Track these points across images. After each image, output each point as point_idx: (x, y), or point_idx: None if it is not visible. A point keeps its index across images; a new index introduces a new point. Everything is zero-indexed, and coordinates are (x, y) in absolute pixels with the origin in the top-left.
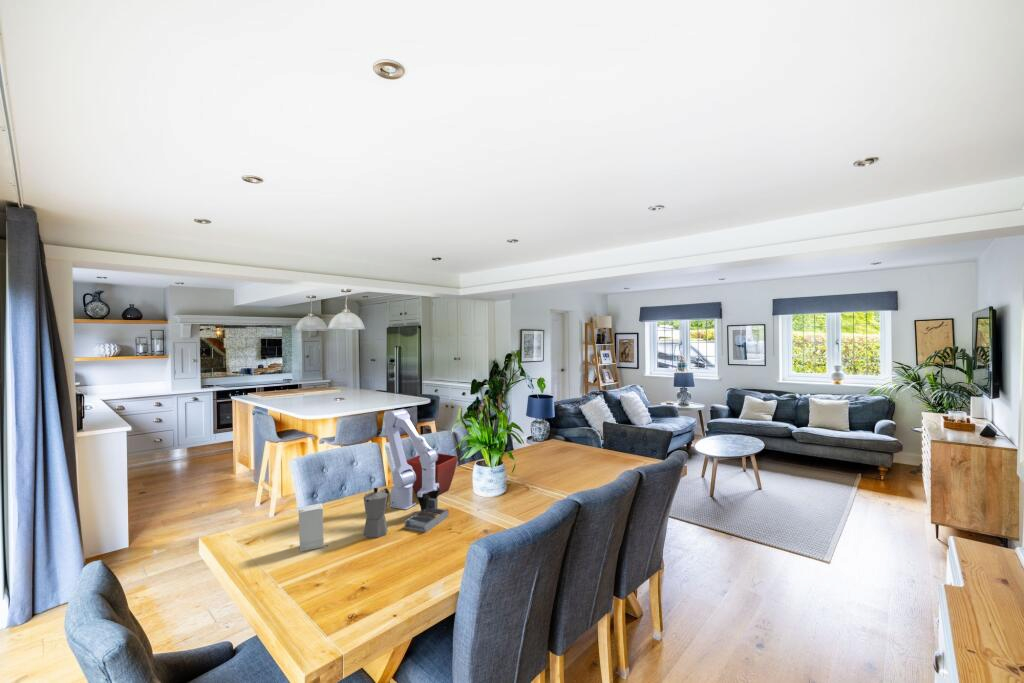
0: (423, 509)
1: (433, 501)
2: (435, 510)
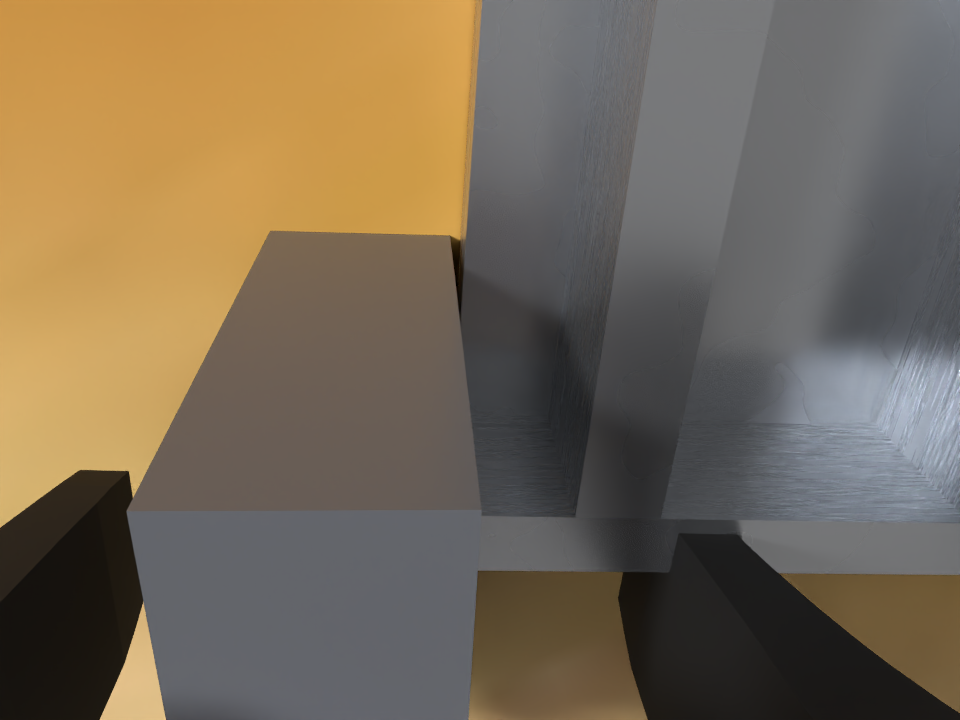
0: (828, 560)
1: (477, 539)
2: (717, 156)
